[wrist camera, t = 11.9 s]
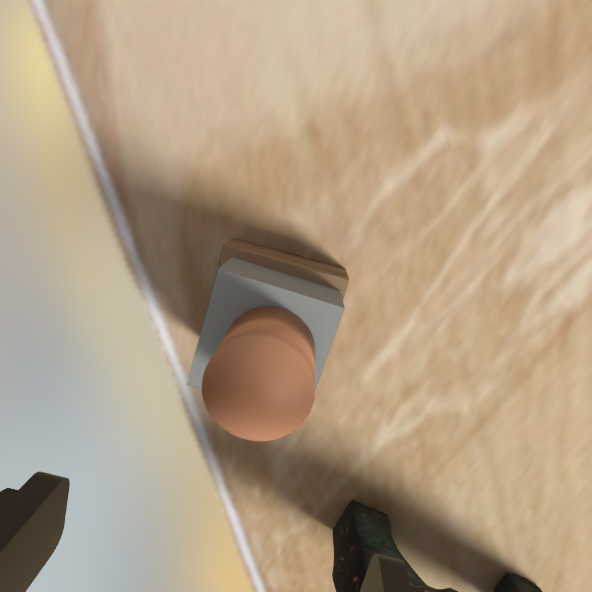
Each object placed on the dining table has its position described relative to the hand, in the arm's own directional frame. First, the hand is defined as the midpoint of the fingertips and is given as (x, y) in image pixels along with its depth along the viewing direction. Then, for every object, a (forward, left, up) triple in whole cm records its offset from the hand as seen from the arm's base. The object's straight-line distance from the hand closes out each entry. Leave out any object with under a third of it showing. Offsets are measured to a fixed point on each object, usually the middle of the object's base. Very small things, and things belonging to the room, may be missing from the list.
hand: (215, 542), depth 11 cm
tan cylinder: (0, 0, -13) cm, 13 cm away
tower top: (0, 0, -17) cm, 17 cm away
